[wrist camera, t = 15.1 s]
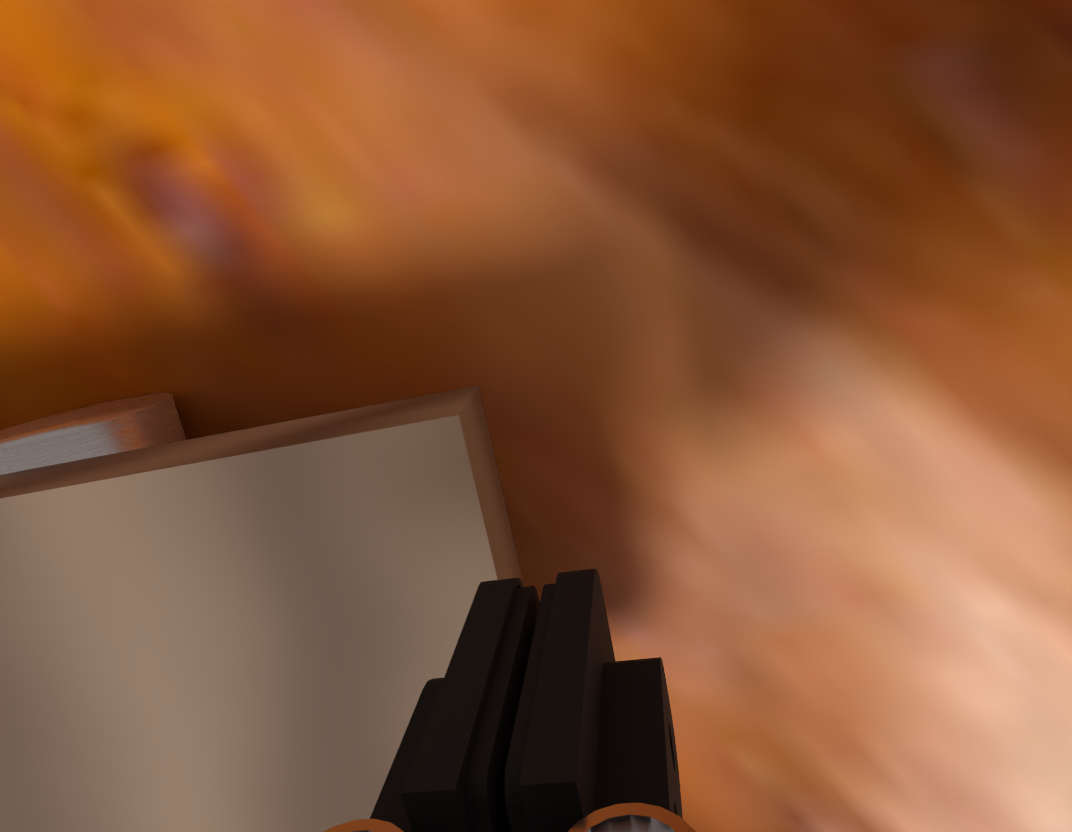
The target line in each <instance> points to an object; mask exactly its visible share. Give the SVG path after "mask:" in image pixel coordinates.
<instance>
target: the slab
mask: <svg viewBox="0 0 1072 832" xmlns="http://www.w3.org/2000/svg"><path fill="white" fill-rule="evenodd" d="M510 578H520V579H521V581H522V584H523V587H525V586H524V582H523V578H522V573H521V569H520V564H519V560H518V556H517V551H516V547H515V542H514V538H513V534H512V529H511V525H510V520H509V516H508V512H507V507H506V503H505V498H504V494H503V490H502V485H501V481H500V476H499V472H498V468H497V463H496V459H495V454H494V450H493V446H492V441H491V437H490V432H489V428H488V424H487V419H486V415H485V410H484V406H483V402H482V397H481V393H480V388H479V385H478V386H473V387H467V388H462V389H457V390H451V391H446V392H441V393H435V394H430V395H425V396H419V397H414V398H408V399H403V400H398V401H392V402H387V403H382V404H376V405H371V406H366V407H360V408H355V409H350V410H344V411H339V412H334V413H328V414H323V415H317V416H312V417H307V418H301V419H296V420H291V421H285V422H280V423H275V424H269V425H264V426H259V427H253V428H248V429H242V430H237V431H232V432H226V433H221V434H216V435H210V436H205V437H200V438H194V439H189V440H184V441H178V442H173V443H168V444H162V445H157V446H151V447H146V448H141V449H135V450H130V451H125V452H119V453H114V454H109V455H103V456H98V457H93V458H87V459H82V460H77V461H71V462H66V463H60V464H55V465H50V466H44V467H39V468H34V469H28V470H23V471H19V472H14V473H9V474H3V475H0V832H324V831H326V830H328V829H330V828H331V827H333V826H336V825H340V824H343V823H346V822H349V821H353V820H361V819H370V817H371V814H372V812H373V809H374V807H375V805H376V802H377V800H378V797H379V795H380V792H381V790H382V787H383V785H384V783H385V780H386V778H387V775H388V773H389V770H390V768H391V765H392V763H393V761H394V758H395V756H396V753H397V751H398V748H399V746H400V743H401V741H402V739H403V736H404V734H405V731H406V729H407V726H408V724H409V722H410V719H411V717H412V714H413V712H414V709H415V707H416V704H417V702H418V700H419V697H420V695H421V692H422V690H423V688H424V686H425V684H426V683H427V681H429V680H431V679H434V678H444V676H445V674H446V671H447V669H448V666H449V663H450V661H451V658H452V655H453V653H454V650H455V647H456V645H457V642H458V639H459V637H460V634H461V631H462V629H463V626H464V623H465V621H466V618H467V615H468V613H469V610H470V607H471V605H472V602H473V599H474V597H475V594H476V591H477V589H478V586H479V584H480V583H481V582H484V581H492V580H501V579H510Z"/></svg>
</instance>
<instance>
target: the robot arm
mask: <svg viewBox="0 0 1072 832" xmlns="http://www.w3.org/2000/svg"><path fill="white" fill-rule="evenodd" d="M324 832H696V831H695V830H694V829H693V828H691V827H690V826H689V825H688V824H687V823H686V822H685V821H684V820H683V818H682V806H681V794H680V782H679V771H678V761H677V752H676V744H675V736H674V729H673V722H672V715H671V709H670V703H669V697H668V691H667V685H666V679H665V673H664V667H663V663H662V659H661V657H660V658H649V659H639V660H628V661H617V662H615V657H614V652H613V646H612V641H611V636H610V630H609V625H608V619H607V614H606V609H605V603H604V598H603V593H602V587H601V582H600V577H599V574H598V571H597V569H589V570H580V571H571V572H562V573H558V575H557V579H556V584H547V585H544V588H543V593H542V597H541V602H539V598H538V594H537V590H536V588H535V587H534V586H529V587H523V584H522V581H521V579H520V578H510V579H501V580H492V581H484V582H481V583H480V584H479V586H478V589H477V591H476V594H475V597H474V599H473V602H472V605H471V607H470V610H469V613H468V615H467V618H466V621H465V623H464V626H463V629H462V631H461V634H460V637H459V639H458V642H457V645H456V647H455V650H454V653H453V655H452V658H451V661H450V663H449V666H448V669H447V671H446V674H445V676H444V678H434V679H431V680H429V681H427V683H426V684H425V686H424V688H423V690H422V692H421V695H420V697H419V700H418V702H417V704H416V707H415V709H414V712H413V714H412V717H411V719H410V722H409V724H408V726H407V729H406V731H405V734H404V736H403V739H402V741H401V743H400V746H399V748H398V751H397V753H396V756H395V758H394V761H393V763H392V765H391V768H390V770H389V773H388V775H387V778H386V780H385V783H384V785H383V787H382V790H381V792H380V795H379V797H378V800H377V802H376V805H375V807H374V809H373V812H372V814H371V817H370V819H361V820H353V821H349V822H346V823H343V824H340V825H336V826H333V827H331V828H330V829H328V830H326V831H324Z"/></svg>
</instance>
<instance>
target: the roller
mask: <svg viewBox="0 0 1072 832" xmlns="http://www.w3.org/2000/svg"><path fill="white" fill-rule="evenodd" d="M184 440H187V439H186V436H185V433H184V430H183V427H182V424H181V421H180V418H179V415H178V411H177V408H176V405H175V402H174V399H173V396H172V394H171V393H154V394H148V395H143V396H137V397H131V398H126V399H120V400H114V401H109V402H103V403H99V404H94V405H90V406H86V407H82V408H78V409H74V410H70V411H66V412H62V413H58V414H54V415H50V416H47V417H43V418H40V419H36V420H33V421H29V422H26V423H22V424H19V425H16V426H12V427H9V428H6V429H3V430H0V475H3V474H9V473H14V472H19V471H23V470H28V469H34V468H39V467H44V466H50V465H55V464H60V463H66V462H71V461H77V460H82V459H87V458H93V457H98V456H103V455H109V454H114V453H119V452H125V451H130V450H135V449H141V448H146V447H151V446H157V445H162V444H168V443H173V442H178V441H184Z"/></svg>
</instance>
